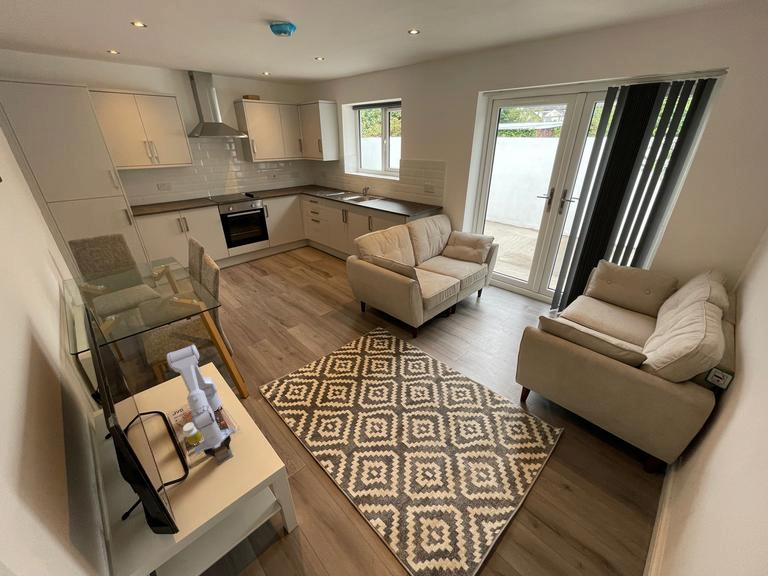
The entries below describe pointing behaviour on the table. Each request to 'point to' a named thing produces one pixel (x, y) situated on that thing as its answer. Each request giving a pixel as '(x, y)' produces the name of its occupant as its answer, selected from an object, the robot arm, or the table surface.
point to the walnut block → (221, 452)
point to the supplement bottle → (192, 433)
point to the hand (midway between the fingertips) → (221, 451)
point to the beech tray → (188, 456)
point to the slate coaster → (225, 458)
